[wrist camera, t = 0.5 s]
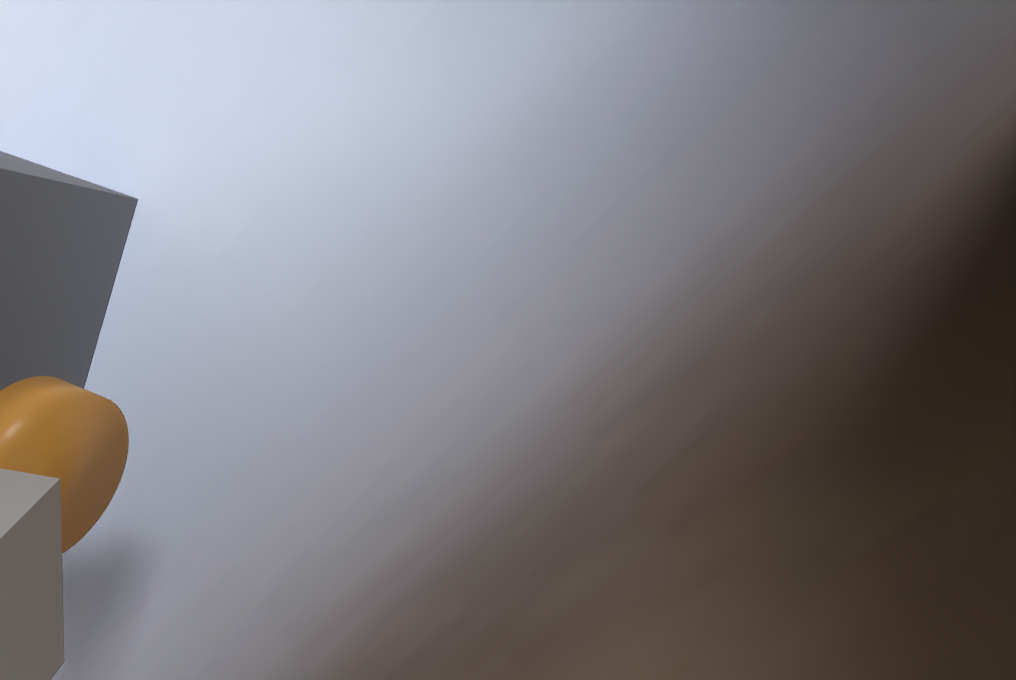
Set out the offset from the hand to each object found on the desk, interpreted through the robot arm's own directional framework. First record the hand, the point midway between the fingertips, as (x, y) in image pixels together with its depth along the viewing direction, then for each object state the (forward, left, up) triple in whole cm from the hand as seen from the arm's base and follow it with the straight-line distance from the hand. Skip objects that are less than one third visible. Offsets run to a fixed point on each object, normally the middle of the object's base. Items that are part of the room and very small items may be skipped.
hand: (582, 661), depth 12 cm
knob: (+7, -23, -18) cm, 30 cm away
